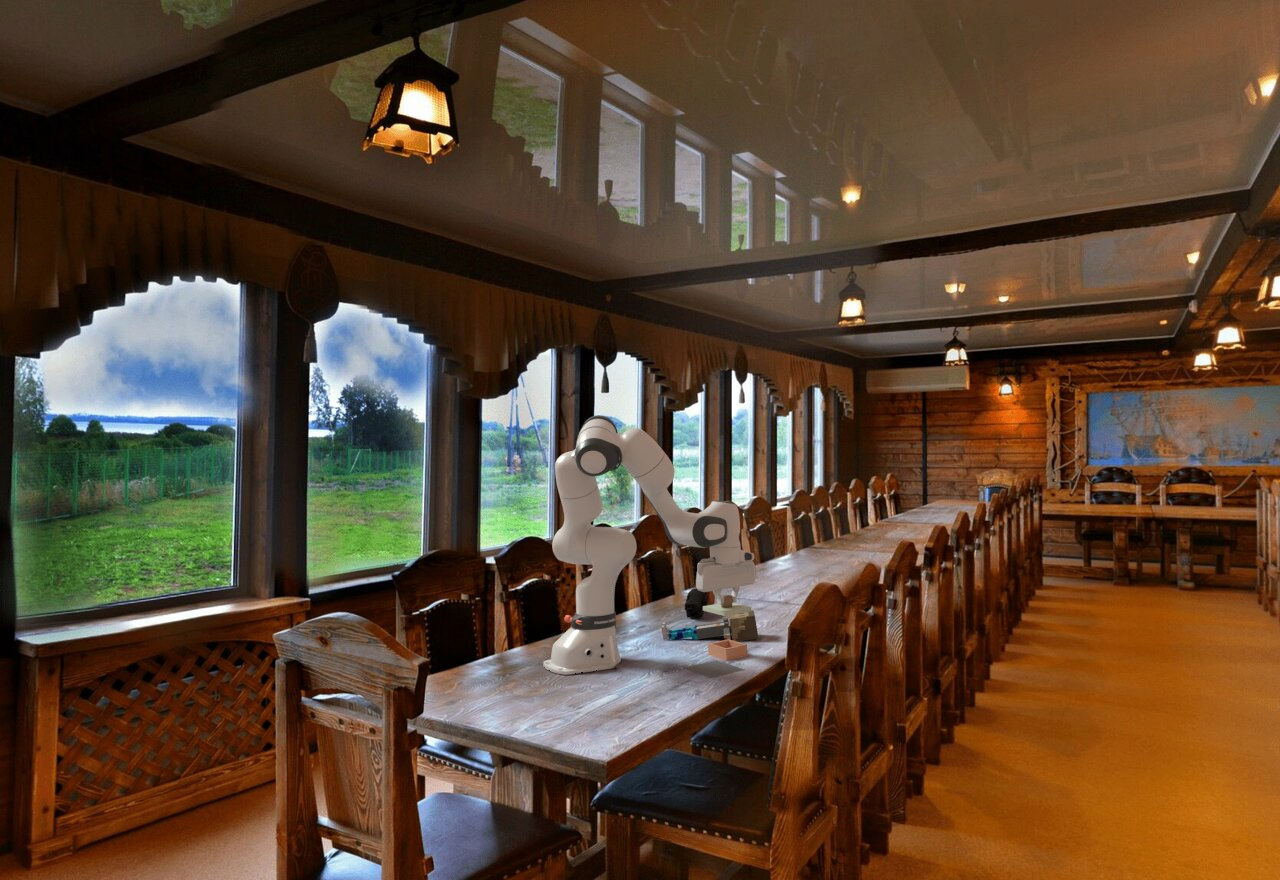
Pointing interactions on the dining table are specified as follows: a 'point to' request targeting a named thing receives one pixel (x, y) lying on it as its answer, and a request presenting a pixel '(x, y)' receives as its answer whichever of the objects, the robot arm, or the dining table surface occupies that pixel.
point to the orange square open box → (727, 649)
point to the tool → (698, 602)
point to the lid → (727, 607)
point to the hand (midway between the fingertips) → (726, 603)
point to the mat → (714, 668)
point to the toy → (718, 629)
